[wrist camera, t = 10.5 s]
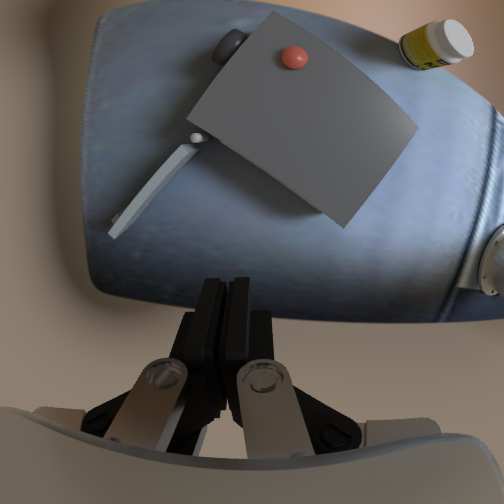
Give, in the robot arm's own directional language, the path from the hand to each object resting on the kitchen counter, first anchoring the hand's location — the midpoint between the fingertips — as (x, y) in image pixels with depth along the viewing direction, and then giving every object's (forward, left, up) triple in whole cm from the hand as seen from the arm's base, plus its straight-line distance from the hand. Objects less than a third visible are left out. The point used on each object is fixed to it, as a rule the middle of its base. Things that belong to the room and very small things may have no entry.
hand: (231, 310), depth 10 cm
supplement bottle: (-5, -26, -18) cm, 32 cm away
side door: (+8, +3, -18) cm, 20 cm away
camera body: (+1, -9, -18) cm, 20 cm away
